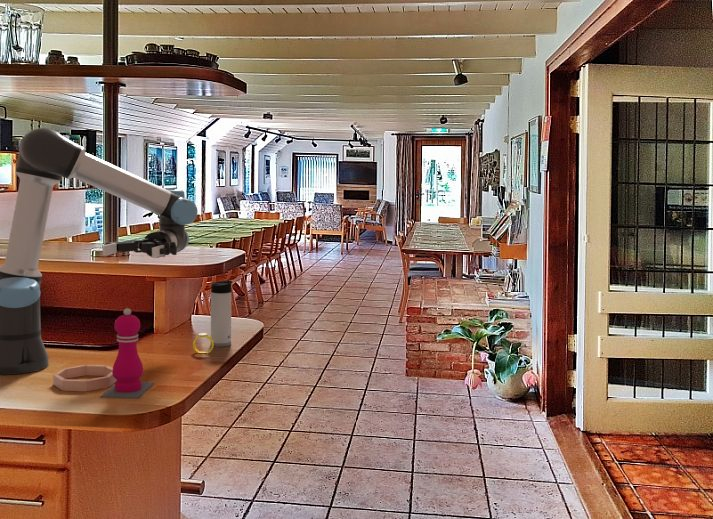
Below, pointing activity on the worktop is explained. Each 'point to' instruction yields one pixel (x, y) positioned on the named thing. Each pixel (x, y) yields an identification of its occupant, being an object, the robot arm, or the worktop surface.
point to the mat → (132, 395)
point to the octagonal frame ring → (84, 385)
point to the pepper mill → (127, 354)
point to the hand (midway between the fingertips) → (128, 251)
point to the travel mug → (221, 313)
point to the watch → (203, 336)
